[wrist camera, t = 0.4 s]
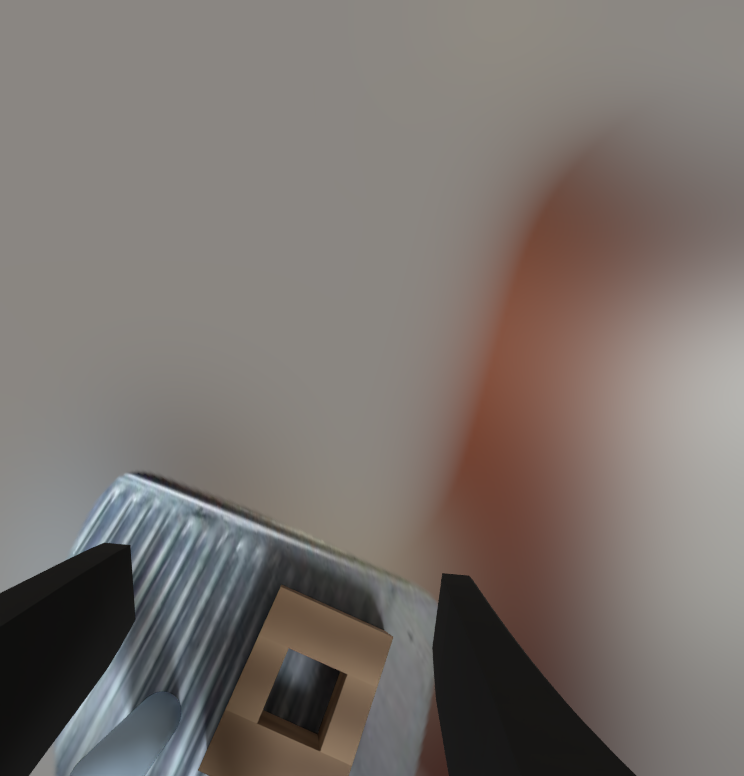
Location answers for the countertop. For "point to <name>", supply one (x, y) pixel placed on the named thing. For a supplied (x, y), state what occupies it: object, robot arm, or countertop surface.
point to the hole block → (245, 708)
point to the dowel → (134, 740)
